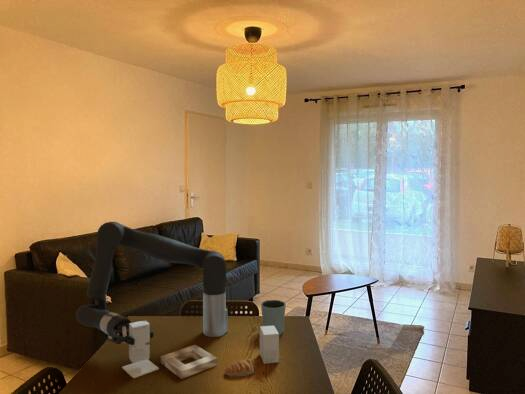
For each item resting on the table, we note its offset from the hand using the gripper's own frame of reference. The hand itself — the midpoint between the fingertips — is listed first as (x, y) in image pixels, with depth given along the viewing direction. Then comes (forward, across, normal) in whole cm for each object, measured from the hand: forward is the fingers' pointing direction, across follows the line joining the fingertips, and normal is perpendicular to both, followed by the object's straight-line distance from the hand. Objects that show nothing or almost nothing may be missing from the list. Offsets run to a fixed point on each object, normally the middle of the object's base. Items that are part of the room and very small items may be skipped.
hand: (143, 338), depth 136 cm
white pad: (-2, 0, +11) cm, 11 cm away
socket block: (+8, +13, +11) cm, 19 cm away
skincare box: (-2, 0, +8) cm, 8 cm away
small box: (+27, +34, +11) cm, 45 cm away
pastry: (+26, +20, +11) cm, 35 cm away
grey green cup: (+14, +53, +11) cm, 56 cm away
